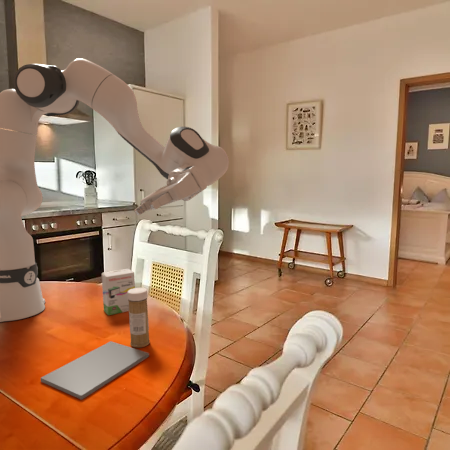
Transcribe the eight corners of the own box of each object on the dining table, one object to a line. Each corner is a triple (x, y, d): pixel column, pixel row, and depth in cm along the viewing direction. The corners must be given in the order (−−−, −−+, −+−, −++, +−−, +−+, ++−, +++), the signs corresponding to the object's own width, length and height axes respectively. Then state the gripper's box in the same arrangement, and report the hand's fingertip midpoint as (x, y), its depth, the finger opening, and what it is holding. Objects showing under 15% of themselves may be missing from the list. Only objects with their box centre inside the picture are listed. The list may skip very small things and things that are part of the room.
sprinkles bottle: (152, 340, 89) (150, 287, 88) (145, 349, 85) (142, 293, 83) (135, 339, 90) (132, 286, 88) (126, 347, 86) (123, 292, 84)
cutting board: (110, 344, 88) (110, 341, 88) (149, 356, 82) (148, 353, 82) (40, 381, 72) (40, 377, 72) (81, 399, 66) (81, 395, 66)
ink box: (107, 316, 105) (105, 276, 104) (103, 310, 109) (101, 272, 108) (136, 309, 110) (134, 271, 108) (131, 304, 114) (129, 268, 112)
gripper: (160, 181, 105) (121, 205, 98) (197, 163, 89) (155, 190, 81) (171, 200, 107) (134, 225, 99) (210, 186, 90) (170, 215, 83)
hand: (144, 209), depth 90 cm, fingers open, 8 cm apart
